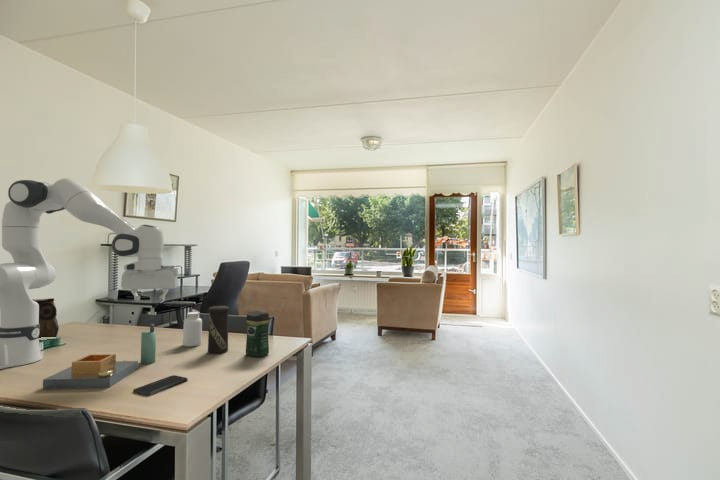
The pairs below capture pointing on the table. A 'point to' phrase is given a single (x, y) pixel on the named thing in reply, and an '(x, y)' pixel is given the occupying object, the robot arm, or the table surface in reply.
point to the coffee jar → (257, 334)
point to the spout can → (148, 346)
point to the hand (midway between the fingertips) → (149, 300)
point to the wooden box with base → (91, 373)
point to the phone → (160, 385)
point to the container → (218, 329)
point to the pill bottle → (192, 330)
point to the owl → (47, 318)
